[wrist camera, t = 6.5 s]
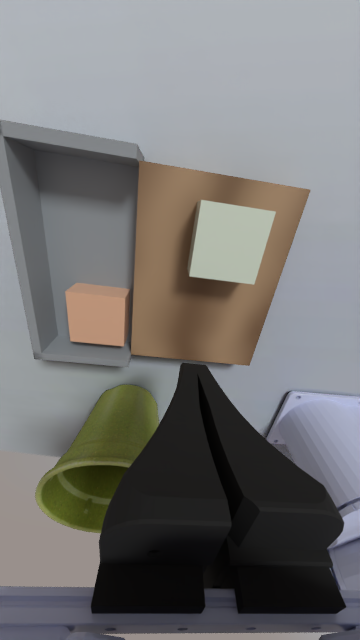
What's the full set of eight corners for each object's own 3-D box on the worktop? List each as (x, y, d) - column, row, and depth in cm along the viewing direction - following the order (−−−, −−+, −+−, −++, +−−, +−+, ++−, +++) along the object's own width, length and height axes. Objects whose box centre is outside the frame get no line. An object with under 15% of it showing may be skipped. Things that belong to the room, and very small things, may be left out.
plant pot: (90, 359, 20) (38, 451, 12) (185, 382, 22) (192, 477, 14) (77, 424, 24) (32, 526, 16) (159, 440, 26) (153, 539, 18)
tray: (144, 157, 13) (137, 144, 11) (134, 345, 20) (128, 367, 17) (25, 137, 13) (-14, 117, 10) (53, 338, 19) (34, 358, 16)
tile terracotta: (130, 288, 17) (125, 298, 15) (128, 333, 19) (123, 346, 17) (76, 282, 16) (65, 291, 15) (80, 328, 18) (70, 341, 16)
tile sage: (262, 211, 13) (276, 211, 11) (244, 275, 15) (254, 284, 13) (197, 201, 13) (201, 199, 11) (187, 268, 15) (189, 276, 13)
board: (293, 192, 15) (310, 189, 13) (242, 351, 20) (249, 365, 18) (143, 167, 14) (139, 160, 12) (134, 341, 19) (130, 354, 18)
